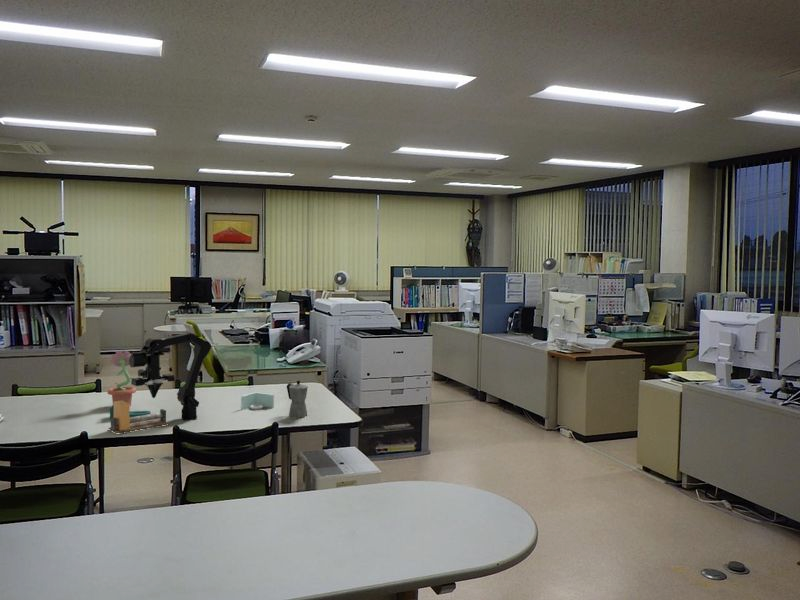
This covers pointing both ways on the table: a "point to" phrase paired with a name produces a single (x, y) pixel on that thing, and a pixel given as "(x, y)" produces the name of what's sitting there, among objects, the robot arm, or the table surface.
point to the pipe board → (141, 422)
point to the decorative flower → (125, 391)
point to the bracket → (130, 413)
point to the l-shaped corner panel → (257, 401)
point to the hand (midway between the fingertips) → (153, 397)
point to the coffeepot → (297, 399)
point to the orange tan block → (122, 414)
